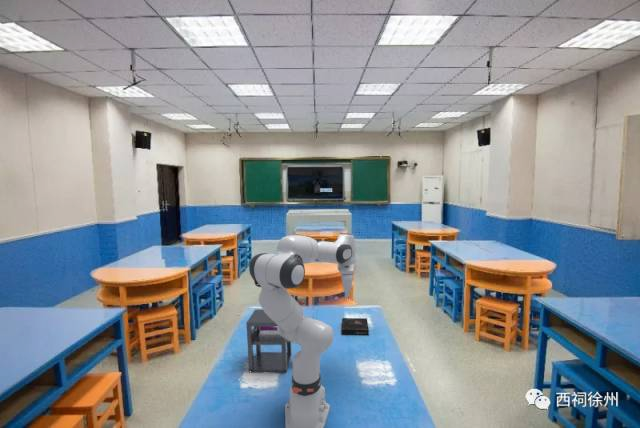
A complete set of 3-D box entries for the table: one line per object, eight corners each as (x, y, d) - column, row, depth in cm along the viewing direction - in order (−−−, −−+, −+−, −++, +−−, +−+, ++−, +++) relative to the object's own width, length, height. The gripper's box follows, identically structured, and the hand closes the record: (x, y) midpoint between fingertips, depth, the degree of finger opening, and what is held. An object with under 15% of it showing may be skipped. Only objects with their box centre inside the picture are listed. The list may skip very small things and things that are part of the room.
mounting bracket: (269, 340, 200) (256, 340, 184) (271, 326, 202) (258, 325, 186) (282, 341, 197) (270, 342, 181) (284, 327, 199) (272, 327, 183)
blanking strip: (305, 338, 158) (304, 334, 158) (258, 337, 160) (258, 334, 160) (305, 334, 162) (305, 330, 162) (260, 334, 164) (260, 330, 164)
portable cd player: (367, 323, 206) (367, 317, 206) (368, 336, 189) (368, 330, 189) (342, 323, 208) (342, 317, 208) (341, 335, 191) (341, 329, 191)
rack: (287, 372, 154) (285, 322, 152) (249, 372, 156) (246, 322, 153) (292, 355, 170) (290, 309, 168) (257, 354, 172) (255, 309, 169)
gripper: (340, 260, 162) (340, 286, 163) (340, 271, 141) (340, 301, 143) (352, 260, 161) (352, 286, 163) (353, 271, 141) (354, 301, 142)
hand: (347, 293), depth 153 cm, fingers open, 8 cm apart
